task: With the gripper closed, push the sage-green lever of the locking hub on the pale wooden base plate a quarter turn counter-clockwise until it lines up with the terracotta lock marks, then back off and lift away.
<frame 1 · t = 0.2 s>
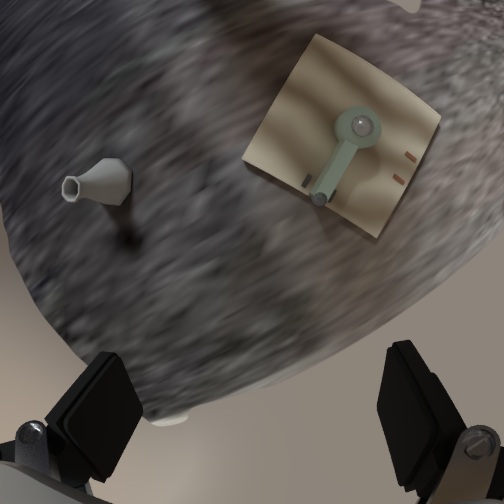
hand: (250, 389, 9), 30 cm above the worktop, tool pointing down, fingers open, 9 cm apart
lock base: (348, 132, 33), on the worktop
lock lever: (341, 156, 30), point 4 cm above the worktop, hinge at 0.0°
flask: (113, 181, 38), on the worktop
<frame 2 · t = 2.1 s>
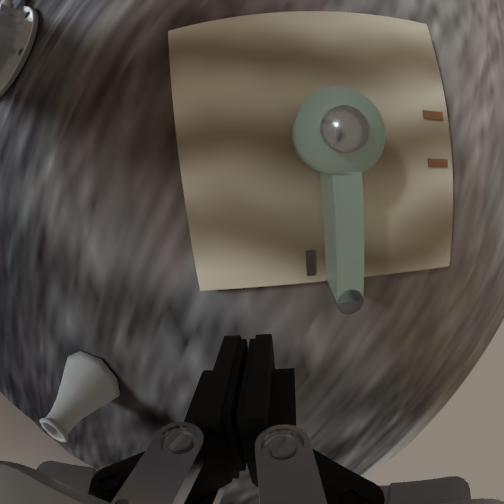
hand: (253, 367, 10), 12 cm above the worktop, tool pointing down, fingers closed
lock base: (323, 139, 19), on the worktop
lock lever: (342, 201, 16), point 4 cm above the worktop, hinge at 0.0°
flask: (95, 373, 28), on the worktop
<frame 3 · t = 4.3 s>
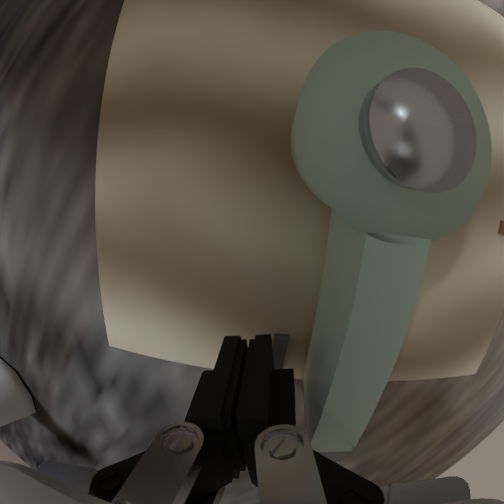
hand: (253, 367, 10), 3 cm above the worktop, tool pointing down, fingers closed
lock base: (347, 148, 11), on the worktop
lock lever: (365, 283, 8), point 4 cm above the worktop, hinge at 1.3°, touching gripper
flask: (12, 381, 19), on the worktop
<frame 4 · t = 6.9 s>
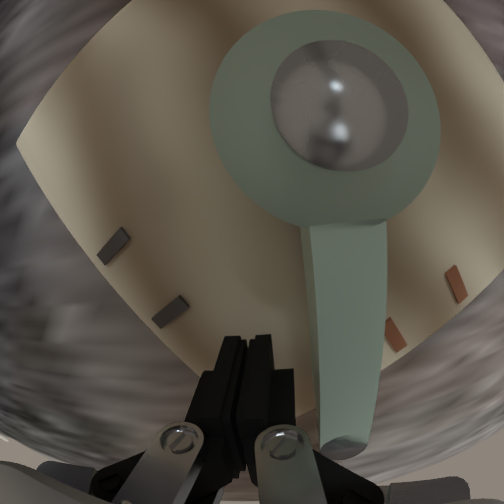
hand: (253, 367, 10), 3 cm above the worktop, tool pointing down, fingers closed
lock base: (306, 139, 11), on the worktop
lock lever: (338, 275, 7), point 4 cm above the worktop, hinge at 58.8°, touching gripper
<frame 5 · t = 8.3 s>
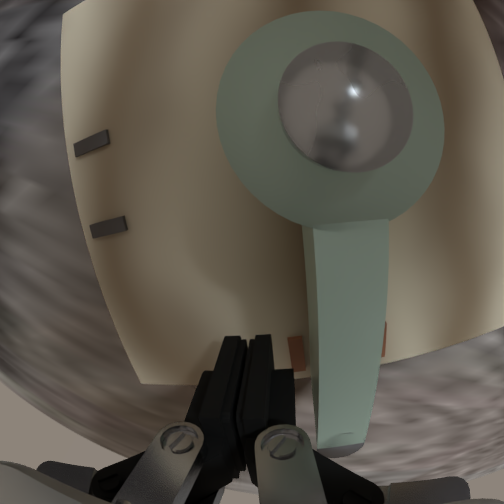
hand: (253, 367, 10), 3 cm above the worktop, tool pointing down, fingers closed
lock base: (309, 138, 11), on the worktop
lock lever: (339, 274, 8), point 4 cm above the worktop, hinge at 86.9°, touching gripper
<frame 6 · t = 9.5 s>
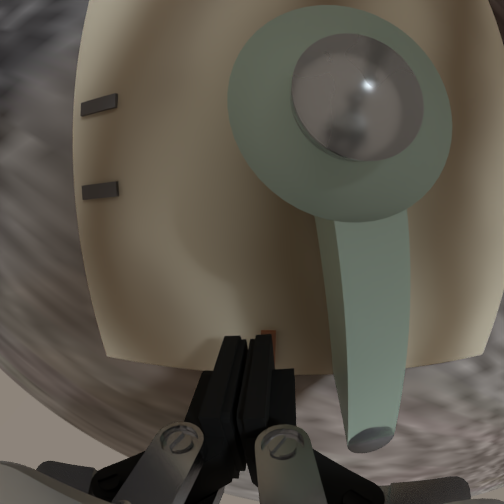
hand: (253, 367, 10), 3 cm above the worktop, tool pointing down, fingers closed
lock base: (314, 135, 11), on the worktop
lock lever: (359, 266, 7), point 4 cm above the worktop, hinge at 100.8°
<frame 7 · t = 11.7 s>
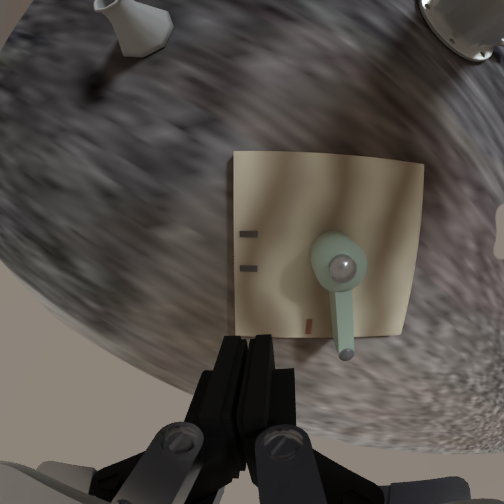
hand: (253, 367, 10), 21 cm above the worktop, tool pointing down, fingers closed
lock base: (329, 249, 30), on the worktop
lock lever: (341, 299, 27), point 4 cm above the worktop, hinge at 100.9°
flask: (146, 34, 25), on the worktop
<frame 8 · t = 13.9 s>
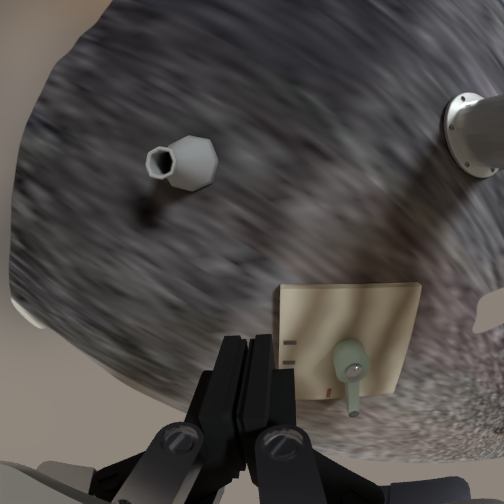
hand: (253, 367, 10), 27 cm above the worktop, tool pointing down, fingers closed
lock base: (345, 345, 40), on the worktop
lock lever: (351, 382, 37), point 4 cm above the worktop, hinge at 100.9°
flask: (191, 163, 35), on the worktop
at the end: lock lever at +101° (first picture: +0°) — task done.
